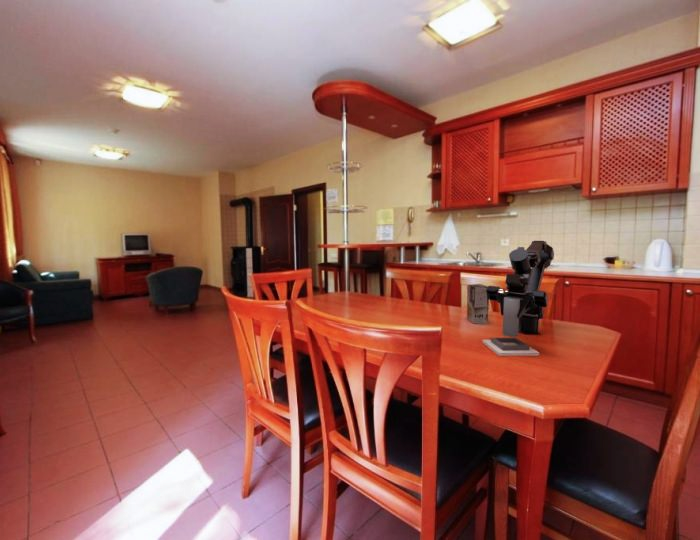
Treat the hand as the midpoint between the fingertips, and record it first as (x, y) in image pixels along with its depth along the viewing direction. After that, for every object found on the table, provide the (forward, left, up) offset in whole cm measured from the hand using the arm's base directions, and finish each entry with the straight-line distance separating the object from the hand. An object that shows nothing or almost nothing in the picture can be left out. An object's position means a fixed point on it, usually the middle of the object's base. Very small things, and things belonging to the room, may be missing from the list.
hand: (509, 316), depth 110 cm
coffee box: (-4, -36, -12) cm, 38 cm away
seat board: (-1, -1, -12) cm, 12 cm away
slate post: (-1, -1, -7) cm, 7 cm away
